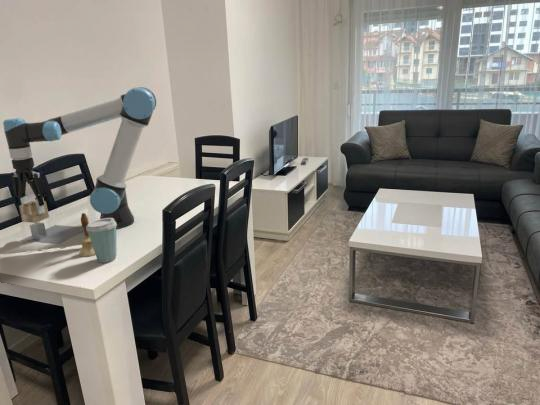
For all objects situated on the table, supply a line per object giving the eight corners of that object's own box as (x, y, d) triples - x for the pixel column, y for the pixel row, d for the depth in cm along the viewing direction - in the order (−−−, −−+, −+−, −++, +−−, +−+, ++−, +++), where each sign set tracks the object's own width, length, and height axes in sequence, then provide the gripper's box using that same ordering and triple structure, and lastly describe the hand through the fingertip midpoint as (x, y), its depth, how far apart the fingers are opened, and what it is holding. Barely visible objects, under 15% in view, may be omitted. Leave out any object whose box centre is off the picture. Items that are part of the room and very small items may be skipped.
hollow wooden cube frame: (49, 217, 178) (45, 200, 176) (35, 222, 172) (31, 205, 170) (36, 216, 180) (32, 200, 178) (22, 221, 174) (18, 204, 172)
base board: (91, 230, 189) (90, 227, 188) (58, 247, 172) (58, 244, 171) (55, 228, 195) (55, 225, 195) (21, 243, 178) (20, 240, 177)
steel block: (47, 240, 180) (44, 222, 178) (40, 243, 177) (36, 225, 174) (40, 239, 181) (37, 222, 179) (33, 243, 178) (29, 225, 175)
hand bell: (75, 253, 165) (68, 214, 161) (96, 246, 171) (89, 208, 166) (84, 258, 159) (76, 218, 155) (105, 251, 165) (98, 213, 160)
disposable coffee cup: (90, 267, 152) (82, 228, 147) (93, 255, 162) (86, 218, 157) (121, 262, 154) (115, 223, 150) (122, 251, 164) (116, 214, 160)
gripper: (49, 156, 169) (60, 211, 175) (11, 156, 175) (23, 208, 182) (33, 160, 162) (46, 216, 169) (-6, 159, 168) (8, 214, 175)
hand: (34, 212), depth 175 cm, fingers closed on hollow wooden cube frame, 7 cm apart
